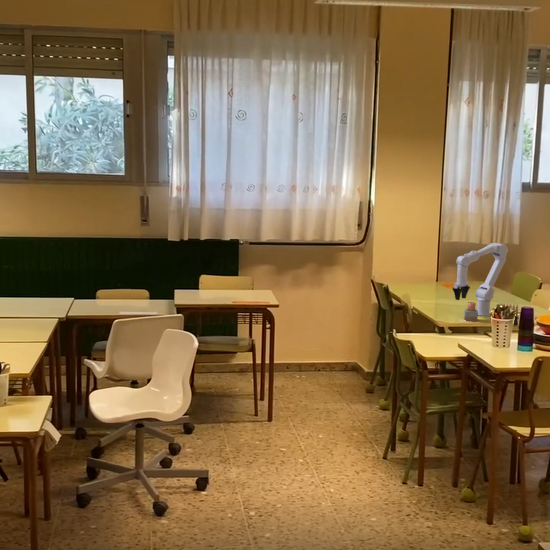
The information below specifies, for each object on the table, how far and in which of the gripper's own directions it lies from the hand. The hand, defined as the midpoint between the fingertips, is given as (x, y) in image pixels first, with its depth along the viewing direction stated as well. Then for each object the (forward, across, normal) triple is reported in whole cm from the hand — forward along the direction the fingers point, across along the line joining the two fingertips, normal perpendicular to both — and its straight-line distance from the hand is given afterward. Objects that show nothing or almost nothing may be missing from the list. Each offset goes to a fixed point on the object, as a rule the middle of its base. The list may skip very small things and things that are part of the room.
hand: (460, 299), depth 410 cm
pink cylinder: (+5, +4, +9) cm, 11 cm away
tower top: (+8, +4, +9) cm, 13 cm away
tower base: (+11, +4, +9) cm, 15 cm away
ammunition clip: (+11, -2, +29) cm, 31 cm away
